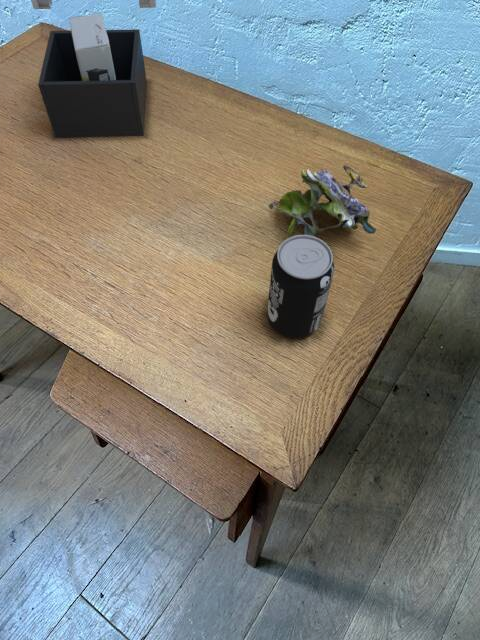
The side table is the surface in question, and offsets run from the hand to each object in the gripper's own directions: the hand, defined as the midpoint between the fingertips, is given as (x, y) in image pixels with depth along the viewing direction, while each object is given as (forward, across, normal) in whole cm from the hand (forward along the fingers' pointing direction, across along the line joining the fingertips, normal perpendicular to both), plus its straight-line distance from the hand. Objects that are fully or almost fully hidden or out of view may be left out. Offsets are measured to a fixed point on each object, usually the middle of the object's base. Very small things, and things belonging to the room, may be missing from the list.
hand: (96, 5), depth 50 cm
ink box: (+28, +6, -25) cm, 38 cm away
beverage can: (+29, -19, +17) cm, 38 cm away
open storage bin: (+29, +7, -24) cm, 39 cm away
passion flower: (+29, -24, +3) cm, 38 cm away
